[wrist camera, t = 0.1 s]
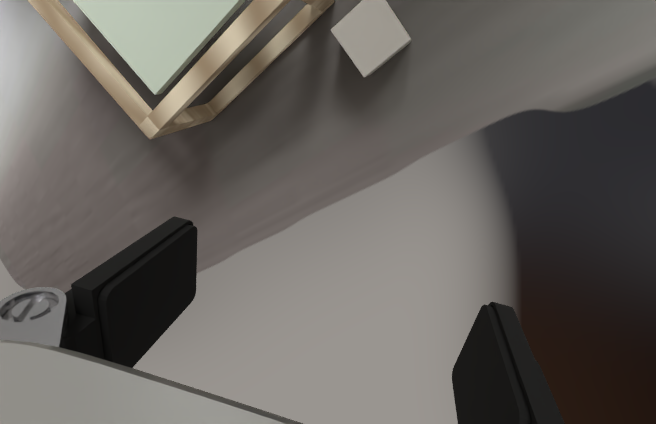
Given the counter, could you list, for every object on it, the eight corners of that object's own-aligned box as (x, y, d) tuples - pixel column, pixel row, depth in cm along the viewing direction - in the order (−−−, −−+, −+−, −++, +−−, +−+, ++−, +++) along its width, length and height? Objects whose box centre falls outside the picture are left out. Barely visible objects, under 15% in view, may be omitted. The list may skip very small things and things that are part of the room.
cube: (381, -2, 35) (376, -14, 29) (410, 41, 35) (411, 38, 30) (342, 34, 36) (330, 29, 31) (370, 74, 37) (363, 77, 32)
